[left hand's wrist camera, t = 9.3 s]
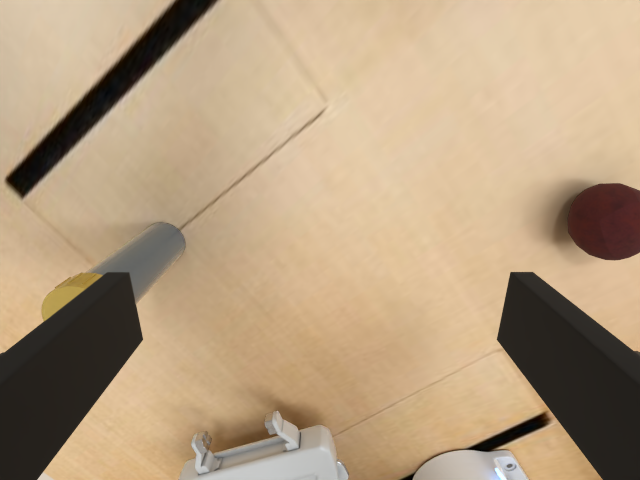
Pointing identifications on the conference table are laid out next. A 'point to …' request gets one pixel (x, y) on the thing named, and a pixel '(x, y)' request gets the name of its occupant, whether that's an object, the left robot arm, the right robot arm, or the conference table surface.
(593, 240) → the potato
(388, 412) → the conference table surface
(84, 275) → the lid
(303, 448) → the right robot arm
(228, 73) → the conference table surface
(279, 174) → the conference table surface
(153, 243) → the blue-grey bottle
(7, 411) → the left robot arm
